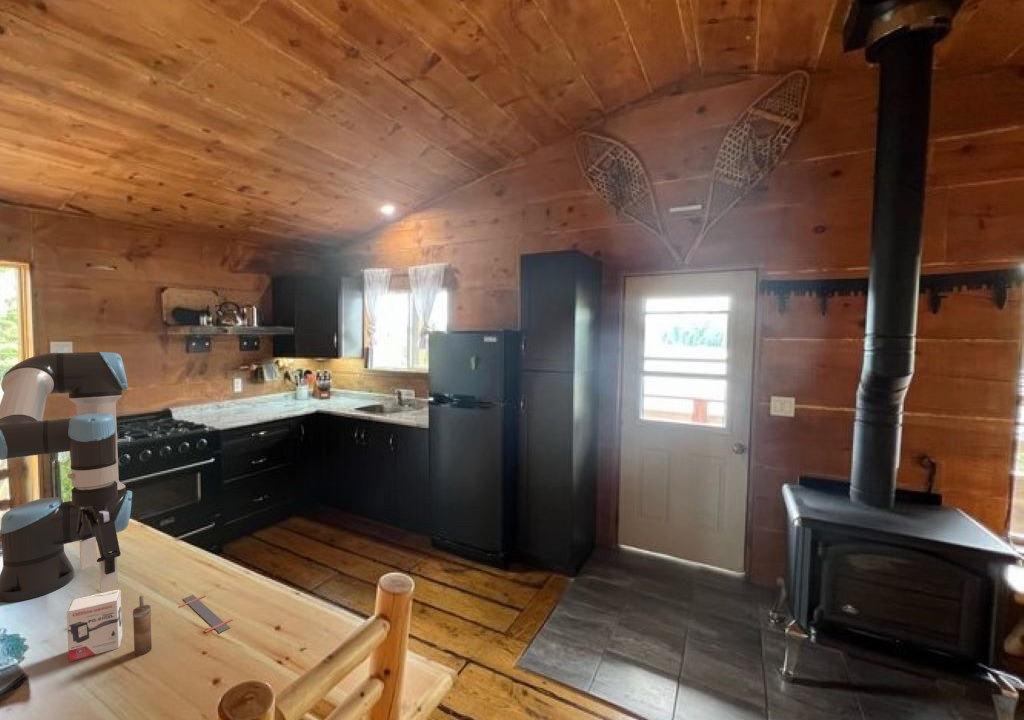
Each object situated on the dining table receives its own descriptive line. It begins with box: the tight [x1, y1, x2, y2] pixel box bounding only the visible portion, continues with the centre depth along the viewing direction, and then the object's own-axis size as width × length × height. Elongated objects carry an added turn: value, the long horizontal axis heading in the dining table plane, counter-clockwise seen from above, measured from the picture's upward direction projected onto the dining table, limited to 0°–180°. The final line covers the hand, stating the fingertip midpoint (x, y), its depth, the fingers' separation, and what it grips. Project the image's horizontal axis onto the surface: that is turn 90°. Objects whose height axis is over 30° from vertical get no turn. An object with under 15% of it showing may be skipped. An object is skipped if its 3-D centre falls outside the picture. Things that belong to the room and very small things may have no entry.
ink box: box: [66, 589, 123, 663], centre depth 102 cm, size 8×5×12 cm, turn 123°
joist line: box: [178, 594, 234, 634], centre depth 116 cm, size 22×6×1 cm, turn 55°
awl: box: [132, 595, 153, 657], centre depth 102 cm, size 3×3×13 cm
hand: (98, 576), depth 102 cm, fingers open, 13 cm apart
